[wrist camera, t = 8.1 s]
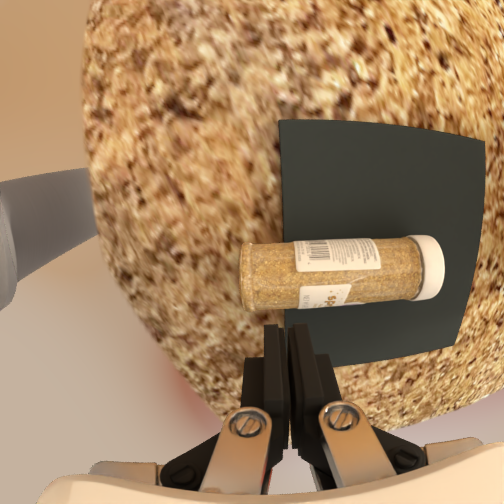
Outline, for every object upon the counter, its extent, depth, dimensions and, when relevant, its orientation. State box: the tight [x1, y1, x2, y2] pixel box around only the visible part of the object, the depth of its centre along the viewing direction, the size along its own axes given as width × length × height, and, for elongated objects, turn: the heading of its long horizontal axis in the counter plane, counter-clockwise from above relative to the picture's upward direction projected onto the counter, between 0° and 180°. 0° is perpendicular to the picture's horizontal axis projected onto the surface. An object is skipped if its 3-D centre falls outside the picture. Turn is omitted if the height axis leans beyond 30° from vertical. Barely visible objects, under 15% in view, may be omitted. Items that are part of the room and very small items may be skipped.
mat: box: [279, 120, 485, 367], centre depth 20 cm, size 18×20×1 cm
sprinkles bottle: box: [239, 235, 445, 312], centre depth 18 cm, size 5×5×13 cm
